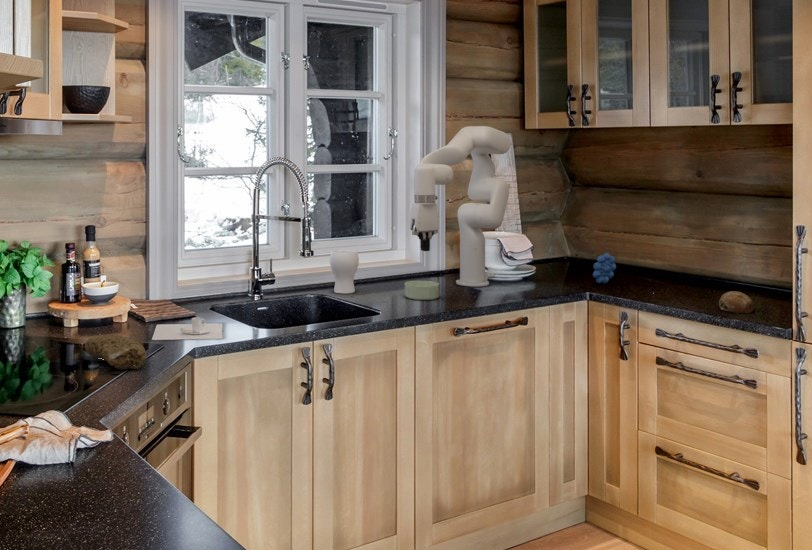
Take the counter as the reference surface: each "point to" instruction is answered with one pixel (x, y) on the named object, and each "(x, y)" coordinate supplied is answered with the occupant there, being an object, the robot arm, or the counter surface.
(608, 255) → the grapes
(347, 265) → the cup
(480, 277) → the robot arm
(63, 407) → the counter surface
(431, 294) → the bowl
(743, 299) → the bread roll
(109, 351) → the sponge
